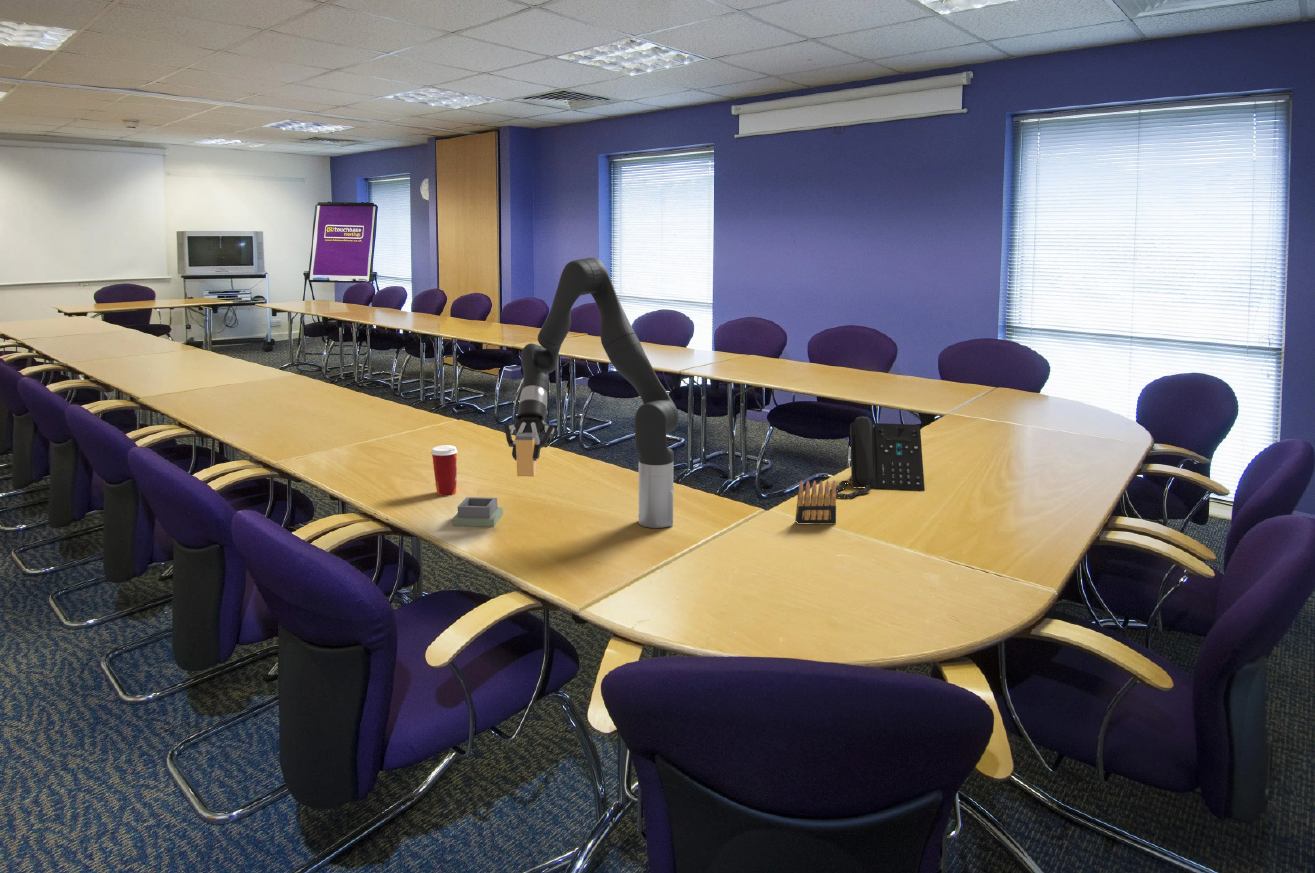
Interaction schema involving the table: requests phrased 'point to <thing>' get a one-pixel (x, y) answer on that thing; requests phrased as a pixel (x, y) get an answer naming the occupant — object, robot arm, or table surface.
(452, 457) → the paper cup
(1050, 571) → the table surface
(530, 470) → the grey-capped square pillar
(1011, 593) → the table surface
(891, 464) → the office phone
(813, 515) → the ammunition clip
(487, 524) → the grey square tray
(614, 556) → the table surface
